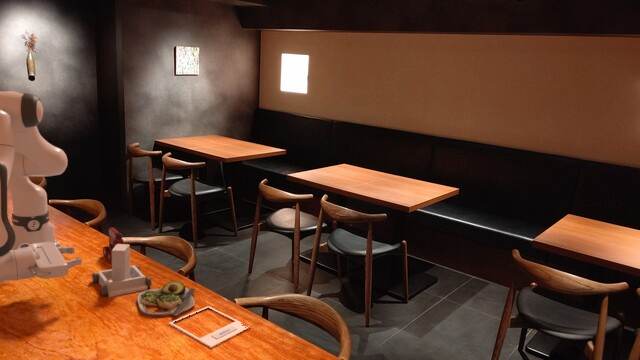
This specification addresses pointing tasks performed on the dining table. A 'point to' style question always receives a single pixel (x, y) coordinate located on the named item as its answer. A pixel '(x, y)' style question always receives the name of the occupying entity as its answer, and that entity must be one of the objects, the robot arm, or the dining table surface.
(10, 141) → the robot arm
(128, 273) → the skincare box
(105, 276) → the chassis
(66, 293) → the dining table surface
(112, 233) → the toy fire truck
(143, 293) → the avocado toast plate
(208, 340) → the photo frame
